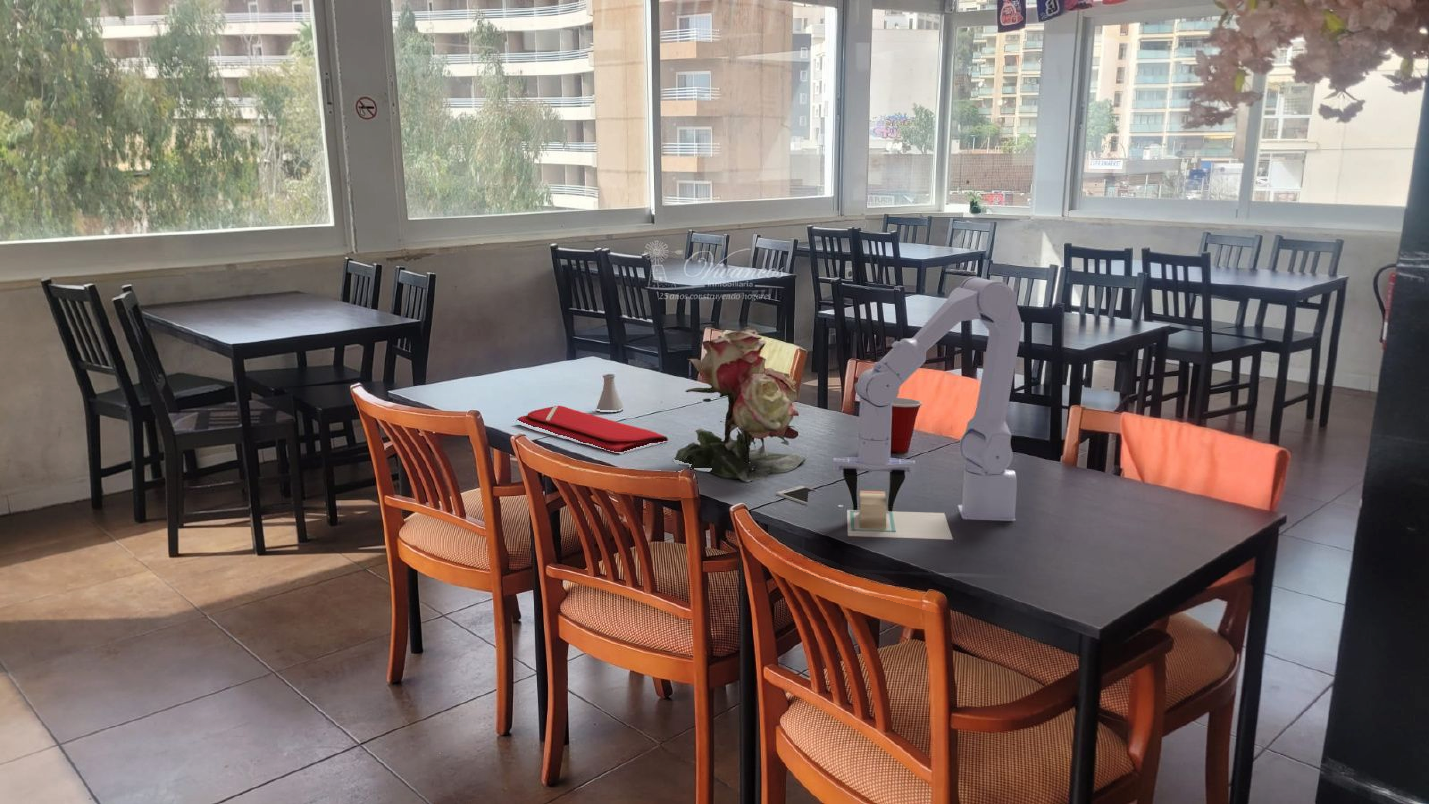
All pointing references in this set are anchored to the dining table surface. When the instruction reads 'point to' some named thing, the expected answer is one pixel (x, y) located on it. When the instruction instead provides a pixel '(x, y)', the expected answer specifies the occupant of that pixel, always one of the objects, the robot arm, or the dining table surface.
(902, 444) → the plastic cup
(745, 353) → the rose bouquet
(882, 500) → the block
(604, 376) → the flask
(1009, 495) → the robot arm
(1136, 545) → the dining table surface
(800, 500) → the smartphone
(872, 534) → the mat
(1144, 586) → the dining table surface
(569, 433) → the dish drying mat
